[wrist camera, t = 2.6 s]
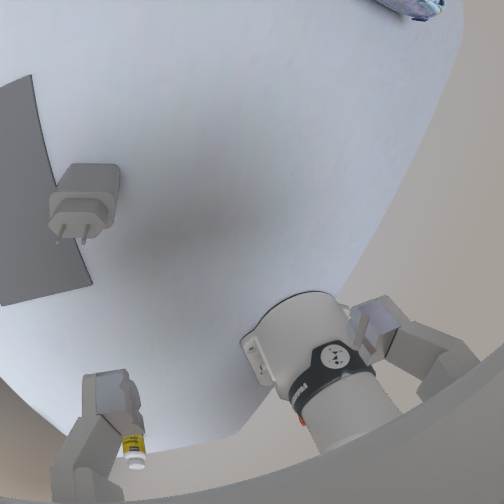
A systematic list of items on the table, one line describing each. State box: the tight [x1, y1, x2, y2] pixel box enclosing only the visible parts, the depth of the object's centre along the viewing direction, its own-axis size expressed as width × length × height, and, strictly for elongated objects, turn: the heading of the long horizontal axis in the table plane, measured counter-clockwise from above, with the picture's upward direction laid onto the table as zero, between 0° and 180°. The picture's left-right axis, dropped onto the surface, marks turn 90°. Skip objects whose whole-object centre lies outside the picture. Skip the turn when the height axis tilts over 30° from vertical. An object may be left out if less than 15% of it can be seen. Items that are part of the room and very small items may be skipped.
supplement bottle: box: [122, 434, 146, 469], centre depth 51 cm, size 5×5×8 cm
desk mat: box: [0, 75, 93, 306], centre depth 25 cm, size 24×14×1 cm, turn 3°
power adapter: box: [48, 164, 120, 244], centre depth 22 cm, size 3×5×12 cm, turn 77°
